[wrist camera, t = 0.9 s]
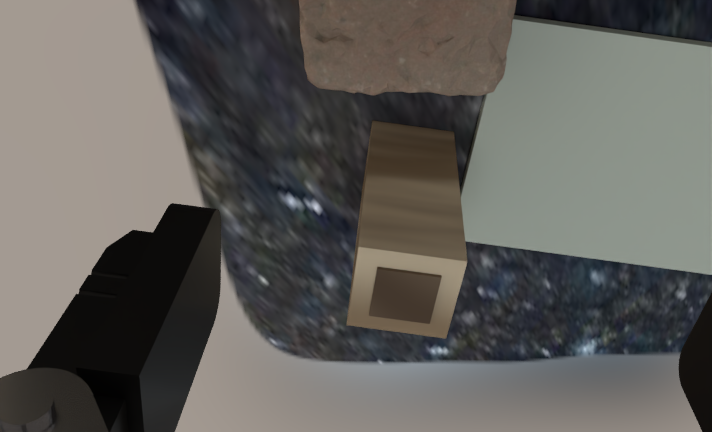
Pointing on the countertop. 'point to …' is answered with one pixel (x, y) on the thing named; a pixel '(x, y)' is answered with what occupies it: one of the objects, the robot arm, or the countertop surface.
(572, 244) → the flat grey rectangular slab
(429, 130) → the beech block
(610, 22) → the countertop surface
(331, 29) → the brick
